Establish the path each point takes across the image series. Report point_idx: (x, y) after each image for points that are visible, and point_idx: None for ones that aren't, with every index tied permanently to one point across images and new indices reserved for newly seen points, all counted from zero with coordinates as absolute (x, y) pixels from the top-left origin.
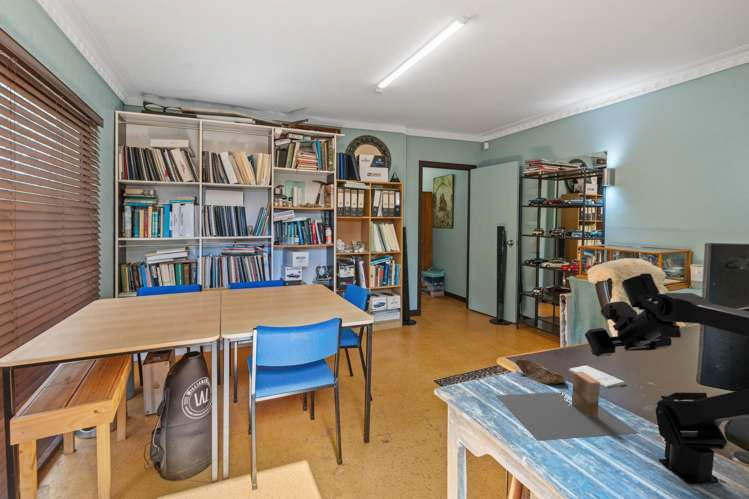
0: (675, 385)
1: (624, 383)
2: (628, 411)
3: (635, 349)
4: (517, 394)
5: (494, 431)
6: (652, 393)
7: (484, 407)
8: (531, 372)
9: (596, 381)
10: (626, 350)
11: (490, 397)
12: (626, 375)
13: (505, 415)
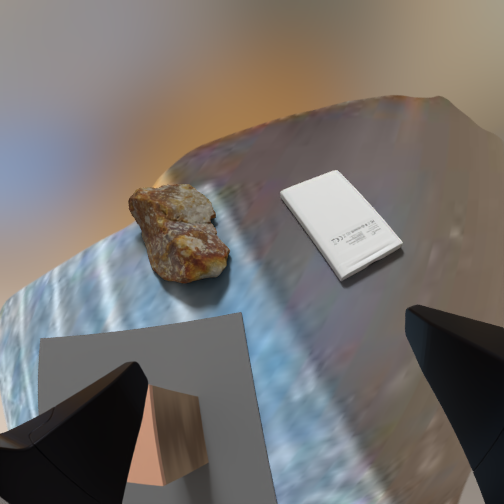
0: (491, 238)
1: (400, 246)
2: (334, 415)
3: (449, 410)
4: (75, 336)
5: None
6: (446, 287)
7: (17, 375)
8: (150, 235)
9: (152, 478)
10: (408, 338)
11: (35, 341)
12: (417, 202)
13: (32, 409)
